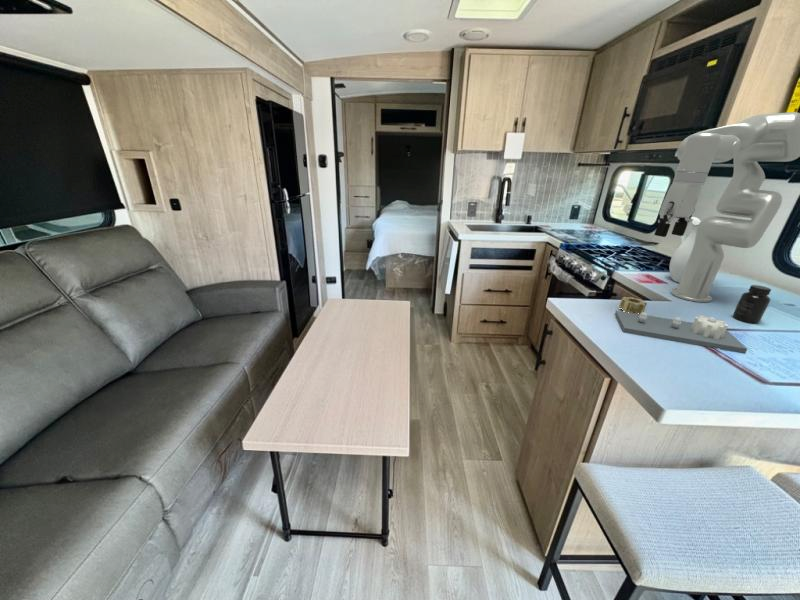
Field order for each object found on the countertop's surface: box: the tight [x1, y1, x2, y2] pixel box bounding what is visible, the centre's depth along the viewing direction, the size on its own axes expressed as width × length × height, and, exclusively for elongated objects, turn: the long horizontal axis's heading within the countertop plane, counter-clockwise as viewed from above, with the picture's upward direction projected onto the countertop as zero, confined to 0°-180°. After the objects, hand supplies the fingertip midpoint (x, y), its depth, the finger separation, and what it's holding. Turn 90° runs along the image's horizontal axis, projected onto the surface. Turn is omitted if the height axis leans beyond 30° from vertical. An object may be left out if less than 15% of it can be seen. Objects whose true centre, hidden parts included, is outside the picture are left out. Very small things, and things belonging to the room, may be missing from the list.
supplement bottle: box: [732, 284, 772, 324], centre depth 111 cm, size 7×7×12 cm
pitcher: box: [669, 216, 723, 284], centre depth 146 cm, size 24×17×28 cm
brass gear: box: [618, 296, 647, 314], centre depth 117 cm, size 8×8×4 cm
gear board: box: [614, 310, 748, 354], centre depth 103 cm, size 14×30×6 cm, turn 68°
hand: (668, 235), depth 105 cm, fingers open, 9 cm apart
